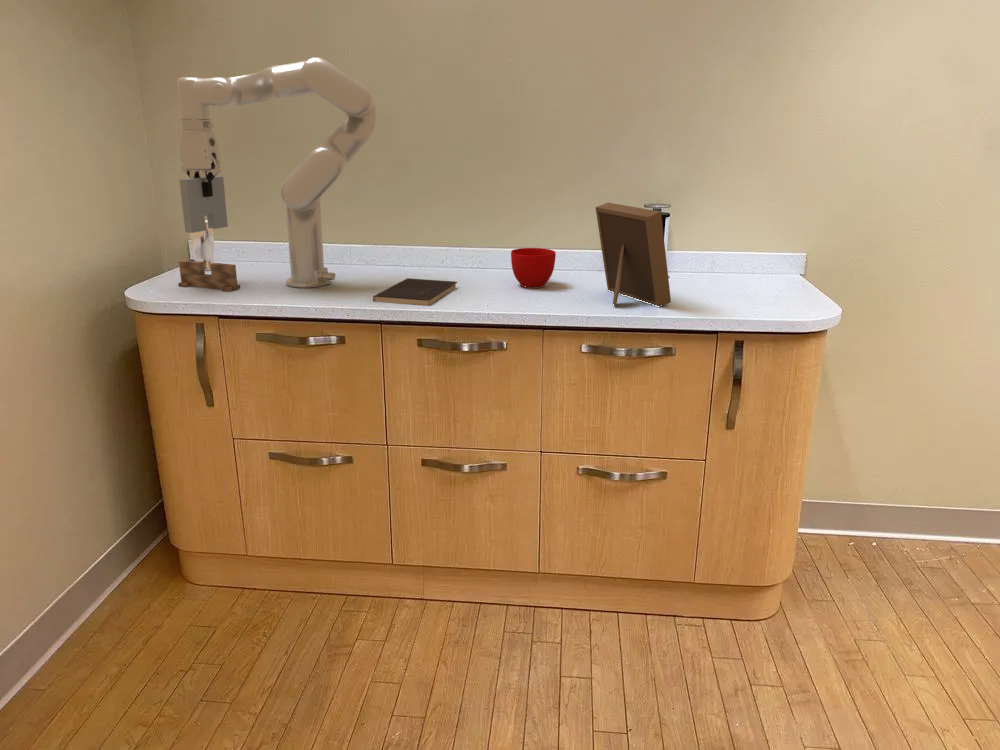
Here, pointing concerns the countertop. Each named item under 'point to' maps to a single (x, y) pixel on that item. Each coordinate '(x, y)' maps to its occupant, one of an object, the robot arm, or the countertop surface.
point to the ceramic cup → (533, 265)
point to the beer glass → (203, 246)
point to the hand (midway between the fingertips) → (203, 195)
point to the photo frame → (634, 252)
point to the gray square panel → (203, 205)
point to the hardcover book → (415, 291)
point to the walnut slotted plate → (208, 275)
